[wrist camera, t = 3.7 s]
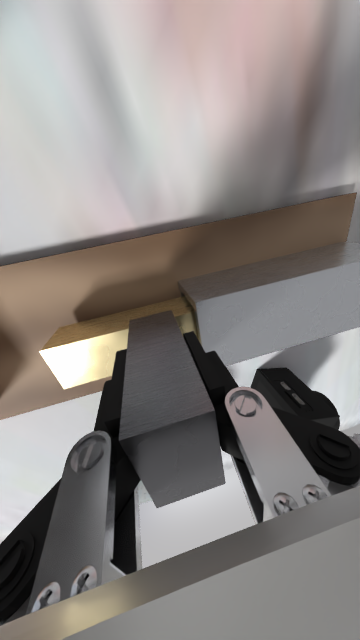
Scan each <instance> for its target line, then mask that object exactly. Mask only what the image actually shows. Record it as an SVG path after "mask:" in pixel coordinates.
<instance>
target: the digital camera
mask: <svg viewBox="0 0 360 640" xmlns="http://www.w3.org/2000/svg"><path fill="white" fill-rule="evenodd" d="M261 371H262V372H263V373H262V372H261ZM251 388H252V389H255V390H256V391H258V392H259V393H261V394H262V395H263V397H264V398H265V399H266V401H267V402H268V404H269V405H270V406H271V407H274V408H277V409H280V410H283V411H286V412H289V413H292V414H295V415H297V416H300V417H303V418H306V419H309V420H312V421H315V422H318V423H321V424H323V425H326V426H329V427H332V428H334V429H337V430H338V429H339V426H340V420H339V417H340V416H339V415H338V412H337V410H336V408H335V406H334V405H333V403H332V402H331V401H330V400H329V399H328V398H327V397H326V396H325V395H323V394H322V393H320V392H317V391H312V390H311V389H310V388H308V387H307V386H306V385H305V384H304V383H303V382H302V381H301V380H300V379H299V378H298V377H296V376H295V375H294V374H293V373H292V372H291V371H290V370H289V369H287V368H269V369H257V371H256V373H255V376H254V379H253V382H252V385H251Z"/></svg>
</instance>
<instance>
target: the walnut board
mask: <svg viewBox="0 0 360 640" xmlns="http://www.w3.org/2000/svg"><path fill="white" fill-rule="evenodd" d="M356 194H357V192H356V193H351V194H345V195H340V196H335V197H331V198H326V199H321V200H316V201H311V202H307V203H302V204H297V205H292V206H287V207H283V208H278V209H273V210H268V211H263V212H259V213H254V214H249V215H244V216H239V217H234V218H230V219H225V220H220V221H215V222H210V223H206V224H201V225H196V226H191V227H186V228H182V229H177V230H172V231H167V232H162V233H158V234H153V235H148V236H143V237H138V238H134V239H129V240H124V241H119V242H114V243H110V244H105V245H100V246H95V247H90V248H86V249H81V250H76V251H71V252H66V253H61V254H57V255H52V256H47V257H42V258H37V259H33V260H28V261H23V262H18V263H13V264H9V265H4V266H0V420H2V419H5V418H9V417H12V416H16V415H19V414H23V413H26V412H30V411H33V410H37V409H40V408H44V407H47V406H51V405H54V404H58V403H61V402H65V401H68V400H72V399H75V398H79V397H82V396H86V395H89V394H93V393H96V392H100V391H103V387H104V383H105V382H106V381H108V380H111V379H112V376H109V377H106V378H102V379H99V380H95V381H91V382H88V383H84V384H81V385H77V386H74V387H70V388H66V389H64V388H63V387H62V385H61V384H60V382H59V380H58V379H57V377H56V376H55V374H54V373H53V371H52V370H51V368H50V367H49V365H48V364H47V362H46V361H45V359H44V358H43V356H42V355H41V353H40V352H39V351H40V350H41V349H42V348H43V347H44V345H45V344H46V343H47V342H48V340H49V339H50V338H51V337H52V336H53V334H54V333H55V332H56V331H57V329H58V328H59V327H62V326H66V325H70V324H74V323H78V322H82V321H87V320H91V319H95V318H99V317H103V316H107V315H111V314H115V313H119V312H123V311H127V310H131V309H135V308H139V307H143V306H147V305H151V304H155V303H159V302H164V301H168V300H172V299H176V298H180V297H181V296H180V290H179V285H178V281H179V280H183V279H187V278H192V277H196V276H200V275H204V274H208V273H213V272H217V271H221V270H225V269H230V268H234V267H238V266H242V265H246V264H251V263H255V262H259V261H263V260H268V259H272V258H276V257H280V256H284V255H289V254H293V253H297V252H301V251H305V250H310V249H314V248H318V247H322V246H327V245H331V244H335V243H339V242H346V241H347V236H348V231H349V227H350V222H351V217H352V213H353V208H354V203H355V199H356Z"/></svg>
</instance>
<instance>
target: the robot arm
mask: <svg viewBox="0 0 360 640" xmlns="http://www.w3.org/2000/svg"><path fill="white" fill-rule="evenodd" d="M183 338H184V340H185V342H186V345H187V347H188V349H189V352H190V354H191V356H192V358H193V361H194V363H195V365H196V368H197V370H198V372H199V375H200V377H201V379H202V381H203V384H204V386H205V388H206V391H207V393H208V395H209V398H210V400H211V402H212V405H213V407H214V409H215V414H216V421H217V428H218V435H219V442H220V446H221V449H222V450H223V451H224V452H226V453H228V454H230V455H231V458H232V461H233V463H234V466H235V469H236V472H237V474H238V477H239V480H240V483H241V485H242V488H243V491H244V494H245V497H246V499H247V502H248V505H249V508H250V511H251V513H252V516H253V519H254V522H255V524H256V525H254V526H251V527H249V528H246V529H244V530H241V531H239V532H236V533H233V534H231V535H228V536H225V537H223V538H220V539H218V540H215V541H213V542H210V543H208V544H205V545H203V546H200V547H197V548H195V549H192V550H190V551H187V552H185V553H182V554H179V555H177V556H174V557H172V558H169V559H167V560H164V561H162V562H159V563H156V564H154V565H151V566H149V567H146V568H144V569H142V556H141V537H140V517H139V516H140V515H139V495H138V484H139V482H140V480H141V479H140V477H139V476H138V474H137V472H136V470H135V469H134V467H133V465H132V463H131V462H130V460H129V458H128V456H127V455H126V453H125V451H124V449H123V448H122V446H121V444H120V442H119V431H120V420H121V409H122V398H123V387H124V376H125V365H126V354H127V349H124V350H120V351H117V352H116V356H115V362H114V367H113V373H112V379H111V380H108V381H106V382H105V383H104V387H103V391H102V396H101V400H100V405H99V409H98V414H97V419H96V423H95V428H94V432H91V433H89V434H87V435H85V436H84V437H83V438H81V439H80V440H79V441H78V442H77V443H76V444H75V445H74V446H73V448H72V450H71V451H70V453H69V455H68V457H67V460H66V463H65V467H64V471H63V475H62V478H61V479H60V480H59V481H58V482H57V483H56V484H55V485H54V487H53V488H52V489H51V490H50V491H49V492H48V493H47V494H46V495H45V496H44V497H43V499H42V500H41V501H40V502H39V503H38V504H37V505H36V506H35V507H34V508H33V509H32V510H31V512H30V513H29V514H28V515H27V516H26V517H25V518H24V519H23V520H22V521H21V522H20V523H19V525H18V526H17V527H16V528H15V529H14V530H13V531H12V532H11V533H10V534H9V535H8V536H7V538H6V539H5V540H4V541H3V542H2V543H1V544H0V640H360V434H354V435H353V437H352V436H347V435H345V434H344V433H342V432H341V431H339V430H337V429H334V428H332V427H329V426H326V425H323V424H321V423H318V422H315V421H312V420H309V419H306V418H303V417H300V416H297V415H295V414H292V413H289V412H286V411H283V410H280V409H277V408H274V407H271V406H270V405H269V404H268V402H267V401H266V399H265V398H264V397H263V395H262V394H261V393H259V392H258V391H256V390H255V389H252V388H249V387H238V385H237V383H236V382H235V380H234V379H233V377H232V376H231V374H230V373H229V371H228V370H227V368H226V367H225V365H224V363H223V362H222V360H221V359H220V357H219V356H218V354H217V353H216V351H210V352H207V353H206V352H205V351H204V349H203V347H202V345H201V344H200V342H199V340H198V338H197V336H196V335H195V333H194V331H191V332H187V333H184V334H183Z"/></svg>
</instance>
